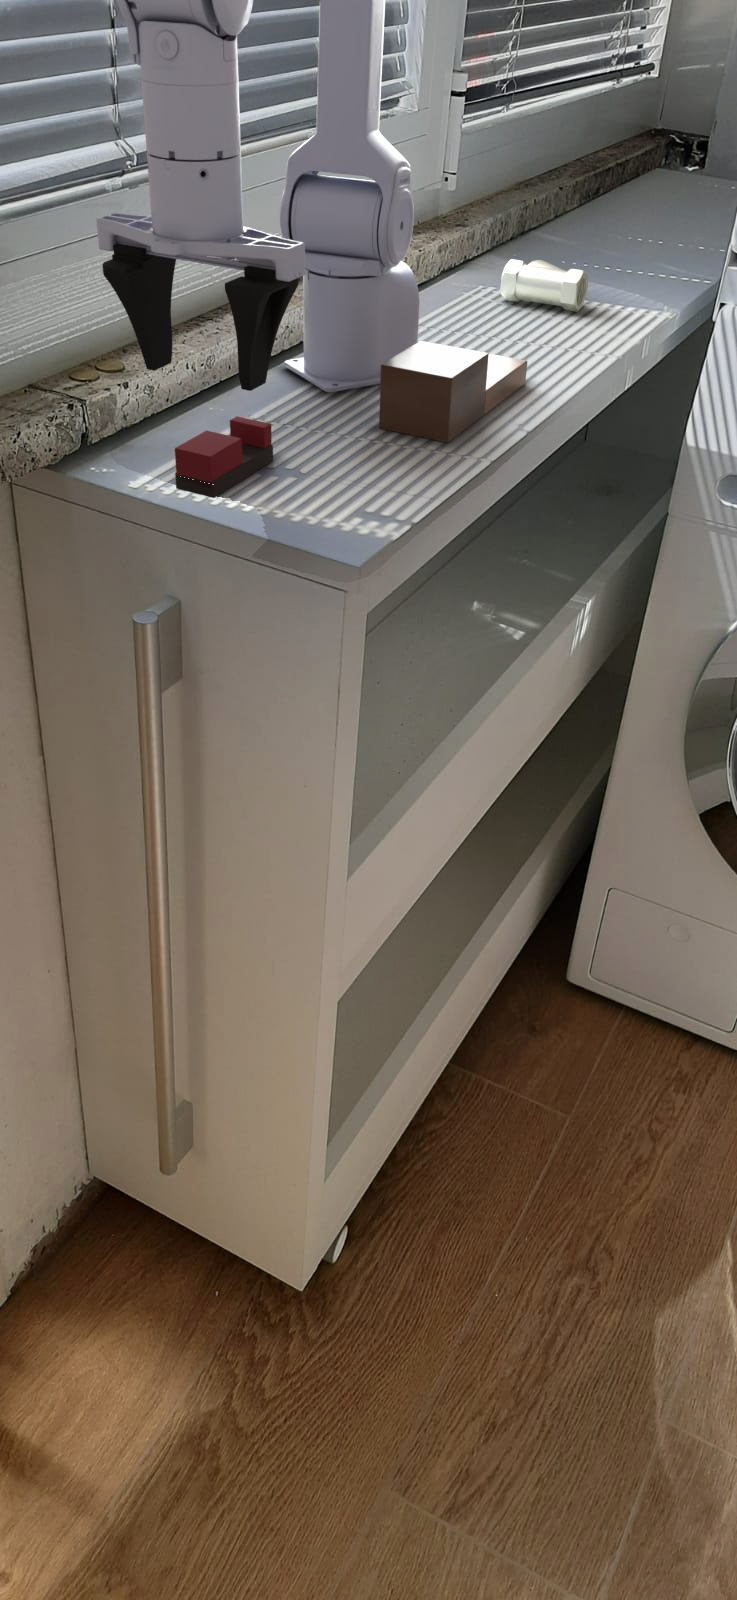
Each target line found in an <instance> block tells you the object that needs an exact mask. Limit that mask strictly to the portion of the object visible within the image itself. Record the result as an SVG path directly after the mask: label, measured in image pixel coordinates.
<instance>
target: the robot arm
mask: <svg viewBox="0 0 737 1600" xmlns="http://www.w3.org/2000/svg"><path fill="white" fill-rule="evenodd" d="M116 2H117V6H118V8H119V11H120V13H121V15H122V17H123V19H124V22H125V25H126V29H127V34H128V35H127V36H128V45H129V54H130V55H131V56H132V61H133V63H134V64H136V65H138V66H140V79H141V92H142V107H143V121H144V131H145V133H144V135H145V145H146V159H147V175H148V188H149V200H150V201H149V202H150V203H149V204H150V215H139V214H127V213H119V212H112V213H109V214H105V215H103V216H99V217H96V230H97V239H98V241H97V242H98V248H99V250H101V251H107V252H113V254H112V255H111V259H108V260H106V261H104V262H102V275H103V277H104V278H105V279H106V281H107V282H108V284H110V286H111V288H112V289H113V291H114V292H115V294H116V296H117V297H118V299H119V301H120V302H121V305H122V306H123V308H124V310H125V313H126V315H127V317H128V320H129V321H130V324H131V326H132V329H133V331H134V335H135V337H136V340H137V342H138V345H139V350H140V352H141V354H142V355H141V356H142V358H143V362H144V365H145V368H146V370H149V371H153V372H154V371H157V370H159V369H161V368H163V367H165V366H167V365H170V364H171V363H172V359H173V329H172V328H173V327H172V294H173V283H174V276H175V268H176V263H177V260H179V261H185V262H191V263H197V264H203V265H208V266H214V267H221V268H227V269H232V270H239V271H243V275H244V276H242V275H241V276H237V277H236V278H234V279H231V280H229V281H227V282H224V291H225V294H226V297H227V300H228V304H229V307H230V311H231V314H232V318H233V319H232V320H233V324H234V329H235V335H236V345H237V364H238V365H237V367H238V378H239V384H240V388H241V390H244V391H248V392H251V391H253V390H255V389H257V388H260V387H261V386H262V385H265V384H267V383H266V382H267V376H268V371H269V366H270V361H271V357H272V352H273V348H274V344H275V341H276V337H277V334H278V332H279V329H280V325H281V323H282V320H283V317H284V315H285V313H286V311H287V308H288V307H289V304H290V303H291V301H292V299H293V296H294V295H295V292H296V291H297V289H298V287H299V283H300V278H301V277H302V325H303V327H302V328H303V329H302V330H303V331H302V332H303V335H302V336H303V337H302V338H303V357H298V358H293V359H286V360H285V361H284V367H285V368H287V369H288V370H290V371H292V372H293V373H294V374H296V375H298V376H299V377H301V378H303V379H304V380H306V381H308V382H309V383H311V384H313V385H314V386H316V387H317V388H320V389H321V390H323V391H324V392H326V393H336V392H341V391H347V390H353V389H359V388H364V387H369V386H370V387H371V386H374V385H380V381H381V364H383V363H384V362H386V361H388V360H389V359H391V358H393V357H394V356H396V355H398V354H399V353H401V352H403V351H404V350H406V349H408V348H409V347H411V346H413V345H414V344H416V343H418V342H419V340H418V339H419V324H420V323H419V322H420V321H419V320H420V292H419V287H418V282H417V279H416V276H415V274H414V272H413V270H412V269H411V268H410V266H409V265H408V264H407V263H406V262H404V261H403V260H404V259H405V257H406V256H407V254H408V252H409V249H410V245H411V242H412V238H413V231H414V224H415V223H414V222H415V207H414V200H413V195H412V171H411V164H410V163H409V161H408V160H407V159H406V158H405V157H404V156H403V154H401V153H400V152H399V151H398V150H397V149H396V148H395V147H394V146H393V144H391V143H390V142H389V141H388V140H387V139H386V137H384V136H383V134H382V133H381V132H380V115H381V93H382V75H383V56H384V55H383V53H384V36H385V35H384V32H385V13H386V0H319V14H318V15H319V16H318V17H319V19H318V49H317V50H318V52H317V53H318V54H317V90H316V91H317V92H316V95H317V97H316V125H315V126H316V130H315V131H316V132H315V133H314V134H313V135H312V136H311V137H310V138H309V139H307V140H306V141H304V142H303V143H302V144H300V146H299V147H297V148H296V149H295V150H294V151H293V152H292V153H291V154H290V155H289V157H288V158H287V160H286V161H287V162H286V167H285V180H284V181H285V182H284V187H283V192H282V195H281V198H280V205H279V214H278V215H279V216H278V218H279V219H278V220H279V221H278V222H279V231H280V236H277V235H274V234H272V233H271V234H270V233H267V232H264V231H261V230H258V229H255V228H251V227H248V226H245V225H244V212H243V211H244V209H243V208H244V207H243V178H242V174H243V173H242V153H241V152H242V147H241V145H242V144H241V117H240V115H241V114H240V86H239V85H240V83H239V82H240V81H239V57H238V54H239V53H238V35H239V34H241V32H242V31H243V30H244V29H245V27H246V26H247V25H248V24H249V21H250V18H251V14H252V10H253V5H254V0H116ZM320 173H328V174H329V173H331V174H338V175H340V174H341V175H349V176H351V175H352V176H360V177H366V178H368V179H361V178H352V177H343V176H333V175H331V176H329V175H322V174H320ZM370 179H372V180H370Z"/></svg>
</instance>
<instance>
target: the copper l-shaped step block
mask: <svg viewBox="0 0 737 1600" xmlns="http://www.w3.org/2000/svg"><path fill="white" fill-rule="evenodd" d="M527 370H528V360H525V359H520V358H515V357H511V356H503V355H498V354H492V353H489V352H485V351H478V350H474V349H469V348H468V349H467V348H463V347H457V346H451V345H446V344H441V343H436V342H429V341H423V340H418V343H416V344H414V345H413V346H411V347H409V348H408V349H406V350H404V351H403V352H401V353H399V354H398V355H396V356H394V357H393V358H391V359H389V360H388V361H386V362H384V363H383V364H381V381H380V384H379V386H380V387H379V390H380V391H379V413H378V417H379V418H378V428H379V429H381V430H387V431H391V432H395V433H401V434H405V435H410V436H414V437H419V438H424V439H428V440H432V441H439V442H442V443H446V444H447V443H450V442H451V441H452V440H454V439H455V438H456V437H457V436H459V435H460V434H461V433H463V432H464V431H465V430H466V429H468V428H469V427H471V426H472V425H473V424H475V423H476V422H477V421H478V420H480V419H481V418H482V417H484V415H487V413H489V412H491V410H492V409H494V408H495V407H497V406H498V405H499V404H501V403H502V402H503V401H504V400H506V399H507V398H508V397H510V396H511V395H512V394H513V393H515V392H516V391H517V390H519V389H520V388H522V387H523V386H524V385H525V384H526V380H527Z"/></svg>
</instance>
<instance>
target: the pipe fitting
mask: <svg viewBox="0 0 737 1600" xmlns="http://www.w3.org/2000/svg"><path fill="white" fill-rule="evenodd" d="M500 279H501V280H500V294H501V297H503V298H504V299H505V300H506V301H509V302H517V303H519V302H520V301H521V300H522V301H527V302H533V303H539V304H546V305H552V306H558V307H562V308H563V310H565V311H570V312H577V313H578V312H579V311H580V310H581V309H582V307H583V305H584V303H585V300H586V296H587V294H588V288H589V278H588V274H587V273H586V271H585V270H583V269H577V268H570V269H568V270H564V269H562V268H561V267H557V266H556V265H554V264H552V263H550V262H547V261H545V260H543V259H535V260H532V261H530V263H528V264H527V263H526V262H525V261H524V260H518V259H512V258H511V259H510V260H509V261H508V262H507V263H506V264H505V266H504V267H503V271H502V274H501V278H500Z"/></svg>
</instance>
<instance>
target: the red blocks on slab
mask: <svg viewBox="0 0 737 1600" xmlns="http://www.w3.org/2000/svg"><path fill="white" fill-rule="evenodd" d="M229 433H230V434H225V433H220V432H216V431H211V430H205V431H203V432H201V433H199V434H198V435H196V436H194V437H192V438H190V439H189V440H187V441H185V442H183V443H181V444H179V445H178V446H176V447H174V460H175V461H174V462H175V473H174V476H175V489H177V490H181V491H184V492H188V493H192V494H196V495H199V496H204V497H208V498H212V499H215V498H216V497H218V496H219V495H221V494H223V493H224V492H226V491H227V490H229V489H230V488H232V487H234V486H235V485H237V484H238V483H240V482H241V481H243V480H245V479H246V478H248V477H250V476H251V475H252V474H255V473H256V472H257V471H259V470H261V469H262V468H264V467H266V466H267V465H268V464H270V463H271V462H273V461H274V445H273V444H272V443H273V441H272V440H273V438H272V423H270V422H265V421H261V420H255V419H251V418H248V417H242V416H237V415H236V416H234V417H233V418H230V419H229ZM180 476H181V477H180ZM184 477H185V478H184ZM188 478H189V479H188ZM192 479H194V480H192ZM200 481H201V482H200ZM204 482H205V483H204ZM208 483H210V484H208ZM212 484H214V485H212Z"/></svg>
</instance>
